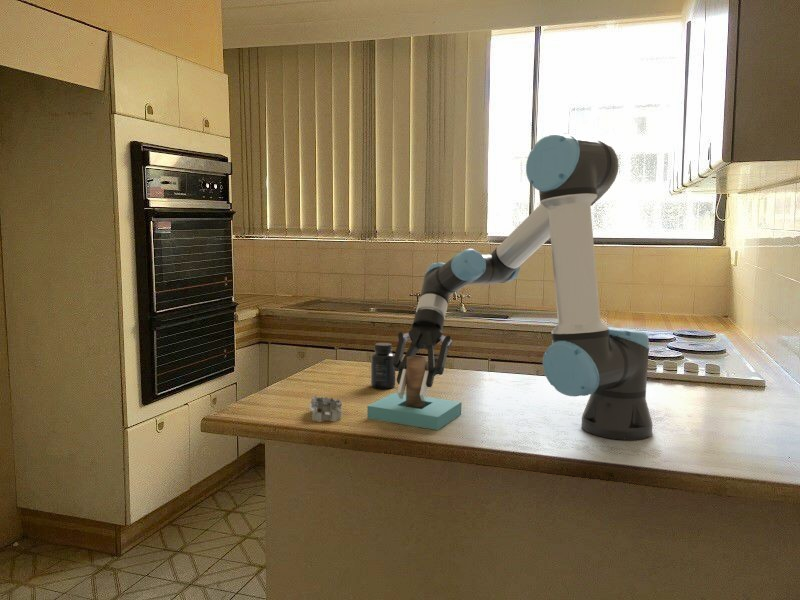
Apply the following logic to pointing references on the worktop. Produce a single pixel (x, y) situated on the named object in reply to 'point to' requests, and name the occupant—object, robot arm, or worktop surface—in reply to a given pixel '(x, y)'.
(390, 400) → the teal square-hole block
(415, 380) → the walnut pin
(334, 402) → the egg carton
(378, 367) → the supplement bottle
